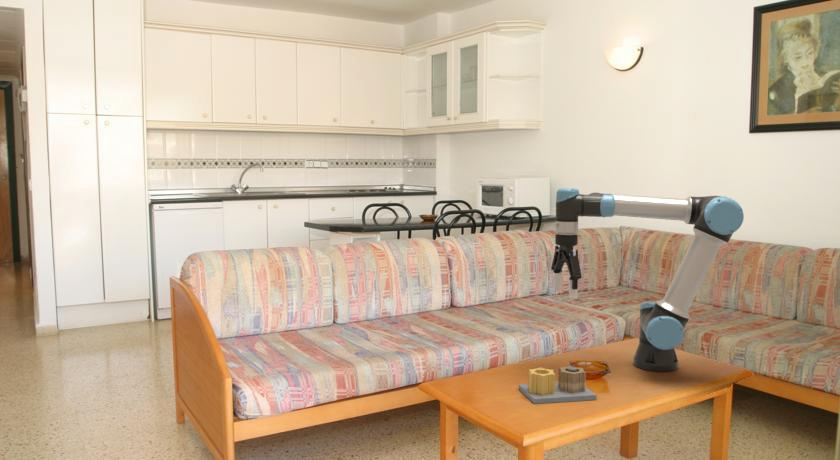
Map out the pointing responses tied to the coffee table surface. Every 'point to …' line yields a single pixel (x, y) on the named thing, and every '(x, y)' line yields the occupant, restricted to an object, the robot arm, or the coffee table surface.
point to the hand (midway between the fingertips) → (565, 294)
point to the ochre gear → (541, 381)
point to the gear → (572, 380)
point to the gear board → (558, 394)
